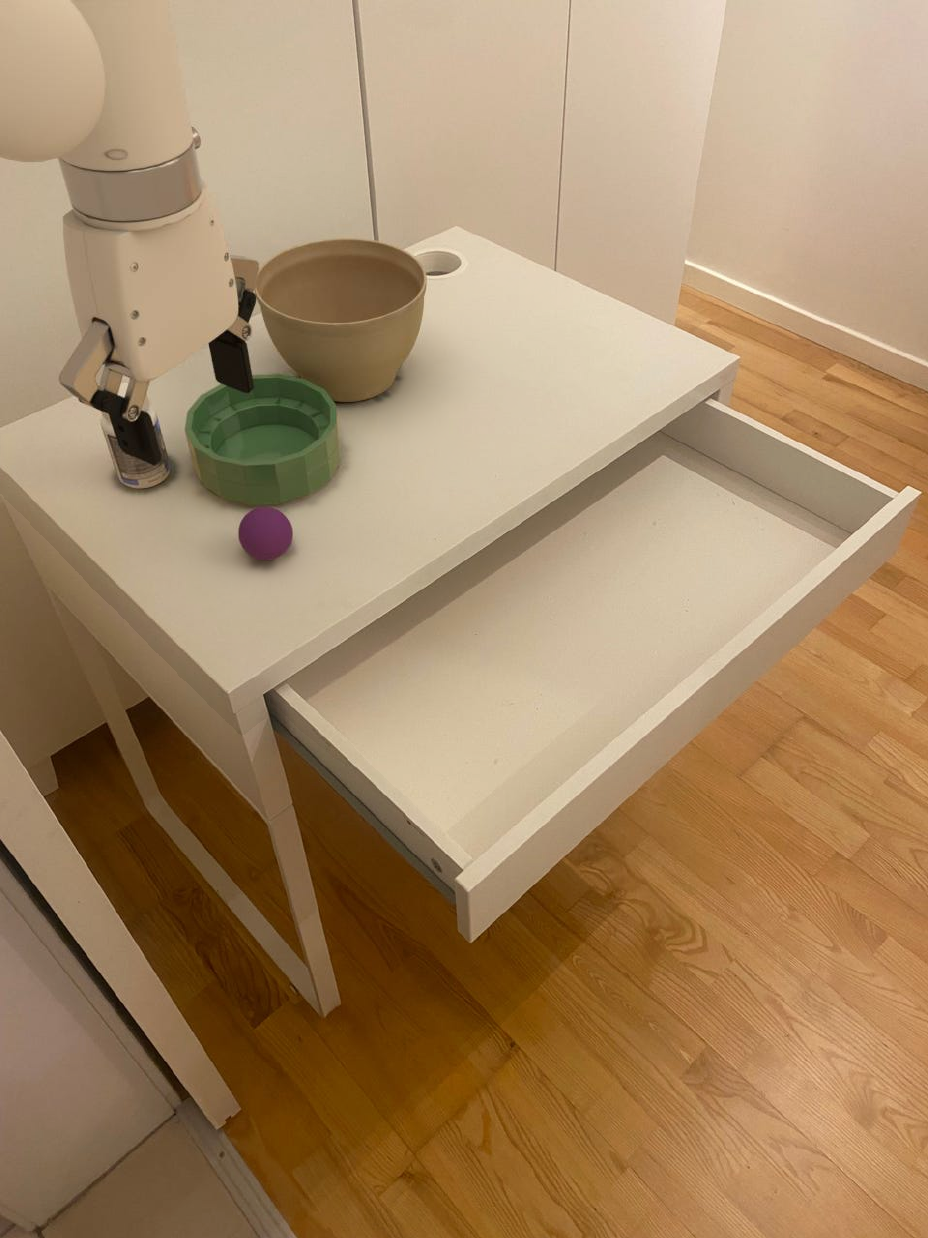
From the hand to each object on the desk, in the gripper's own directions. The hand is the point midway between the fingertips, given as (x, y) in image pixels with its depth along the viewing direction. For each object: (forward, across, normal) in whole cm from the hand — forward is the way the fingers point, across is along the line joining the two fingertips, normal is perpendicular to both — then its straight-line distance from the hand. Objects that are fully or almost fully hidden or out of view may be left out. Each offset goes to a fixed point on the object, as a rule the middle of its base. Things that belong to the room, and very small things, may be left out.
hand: (190, 419), depth 68 cm
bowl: (+15, -13, -6) cm, 21 cm away
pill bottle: (+15, -6, -14) cm, 22 cm away
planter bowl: (+15, -28, -7) cm, 33 cm away
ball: (+13, -3, +2) cm, 13 cm away
